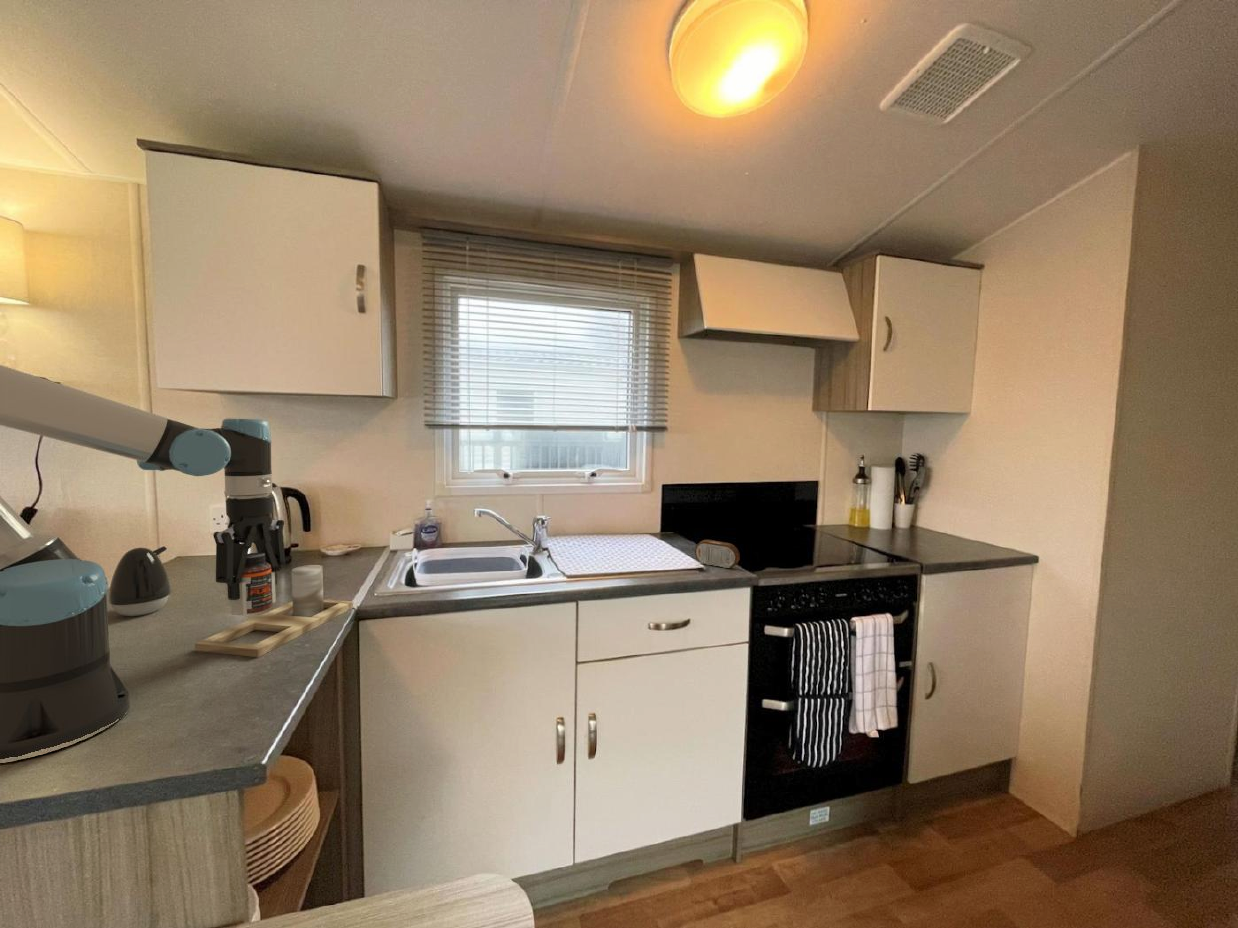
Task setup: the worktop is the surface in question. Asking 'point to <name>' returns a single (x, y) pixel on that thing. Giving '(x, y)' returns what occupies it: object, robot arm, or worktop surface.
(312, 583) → the frame
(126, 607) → the pump dispenser
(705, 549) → the tin
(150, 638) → the worktop surface
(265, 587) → the supplement bottle
